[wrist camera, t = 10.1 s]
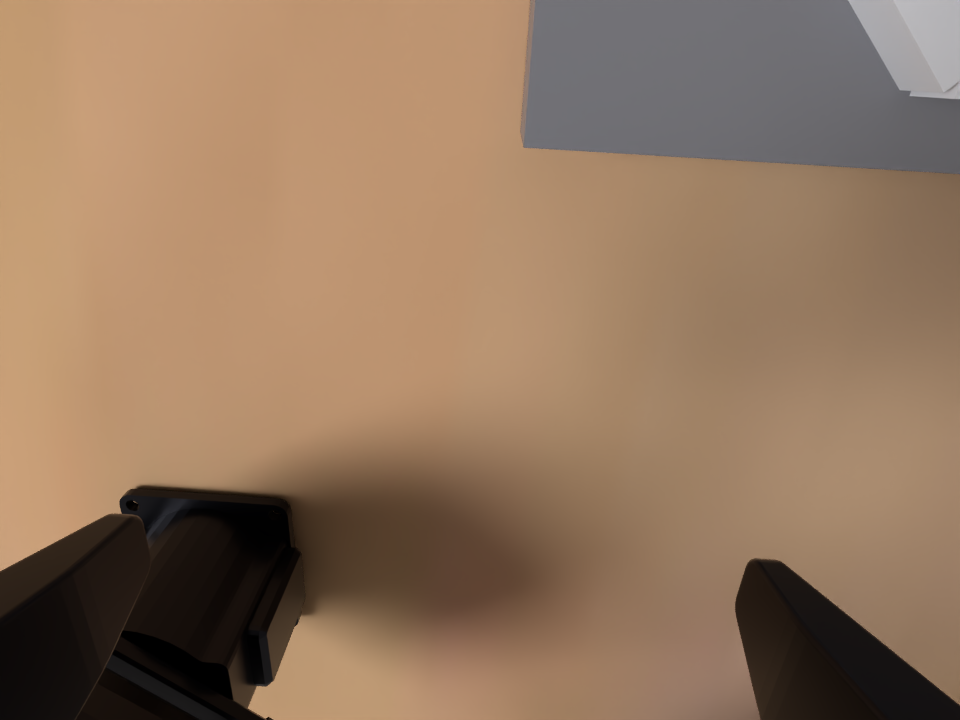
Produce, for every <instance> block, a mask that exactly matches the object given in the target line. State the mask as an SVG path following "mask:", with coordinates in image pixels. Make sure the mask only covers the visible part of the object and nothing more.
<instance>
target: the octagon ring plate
mask: <svg viewBox="0 0 960 720" xmlns="http://www.w3.org/2000/svg"><path fill="white" fill-rule="evenodd" d="M520 132H521V137H522V142H523V147H524V148H540V149H556V150H573V151H589V152H606V153H622V154H639V155H655V156H671V157H688V158H704V159H721V160H737V161H754V162H770V163H787V164H803V165H819V166H836V167H852V168H869V169H885V170H902V171H918V172H935V173H951V174H960V0H530V13H529V27H528V40H527V53H526V66H525V79H524V92H523V105H522V118H521V131H520Z"/></svg>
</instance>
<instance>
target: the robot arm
mask: <svg viewBox="0 0 960 720" xmlns="http://www.w3.org/2000/svg"><path fill="white" fill-rule="evenodd" d="M133 501H135V502H137V503H138V504H136V503H135V502H133ZM120 508H121V512H122V514H109V515H106V516H104V517H102V518H100V519H98V520H97V521H95V522H93V523H91V524H89V525H87V526H85V527H83V528H81V529H80V530H78V531H76V532H74V533H72V534H70V535H68V536H66V537H64V538H63V539H61V540H59V541H57V542H55V543H53V544H51V545H49V546H47V547H46V548H44V549H42V550H40V551H38V552H36V553H34V554H32V555H30V556H28V557H27V558H25V559H23V560H21V561H19V562H17V563H15V564H13V565H11V566H10V567H8V568H6V569H4V570H2V571H0V720H273V719H271V718H269V717H268V718H266V719H265V718H263V717H261V716H260V715H258V714H256V713H255V712H253V711H251V710H249V709H248V706H249V704H250V701H251V699H252V696H253V694H254V691H255V689H256V687H257V686H265V687H266V686H268V685H269V684H270V683H271V682H272V681H274V679H275V676H276V673H277V671H278V668H279V666H280V663H281V660H282V658H283V655H284V653H285V650H286V647H287V645H288V642H289V640H290V637H291V634H292V632H293V629H294V627H295V626H296V625H297V624H298V622H299V619H300V616H301V608H302V606H303V603H304V600H305V585H304V575H303V564H302V554H301V552H300V551H299V549H298V548H295V543H294V533H293V523H292V513H291V508H290V505H289V504H288V503H287V502H286V501H284V500H282V499H277V498H263V497H249V496H235V495H220V494H206V493H192V492H177V491H163V490H148V489H130V490H128V491H127V492H126V493H125V494H124V495H123V497H122V498H121V499H120ZM273 510H275V511H278V512H279V513H281V514H277V513H275V512H273ZM735 612H736V618H737V622H738V626H739V631H740V635H741V639H742V643H743V648H744V652H745V656H746V660H747V665H748V669H749V673H750V677H751V682H752V686H753V690H754V694H755V699H756V703H757V707H758V711H759V714H760V718H761V720H960V705H959V704H957V703H956V702H955V701H954V700H952V699H951V698H950V697H949V696H948V695H946V694H945V693H944V692H943V691H941V690H940V689H939V688H938V687H936V686H935V685H934V684H933V683H931V682H930V681H929V680H928V679H926V678H925V677H924V676H923V675H921V674H920V673H919V672H918V671H917V670H915V669H914V668H913V667H912V666H910V665H909V664H908V663H907V662H905V661H904V660H903V659H902V658H900V657H899V656H898V655H897V654H895V653H894V652H893V651H892V650H890V649H889V648H888V647H887V646H886V645H884V644H883V643H882V642H881V641H879V640H878V639H877V638H876V637H874V636H873V635H872V634H871V633H869V632H868V631H867V630H866V629H864V628H863V627H862V626H861V625H860V624H858V623H857V622H856V621H855V620H853V619H852V618H851V617H850V616H848V615H847V614H846V613H845V612H843V611H842V610H841V609H840V608H838V607H837V606H836V605H835V604H833V603H832V602H831V601H830V600H829V599H827V598H826V597H825V596H824V595H822V594H821V593H820V592H819V591H817V590H816V589H815V588H814V587H812V586H811V585H810V584H809V583H807V582H806V581H805V580H804V579H803V578H801V577H800V576H799V575H798V574H796V573H795V572H794V571H793V570H791V569H790V568H789V567H788V566H786V565H785V564H784V563H782V562H781V561H778V560H771V559H757V558H755V559H751V560H750V561H749V562H748V563H747V566H746V568H745V571H744V575H743V578H742V581H741V584H740V587H739V591H738V594H737V597H736V602H735Z"/></svg>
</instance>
